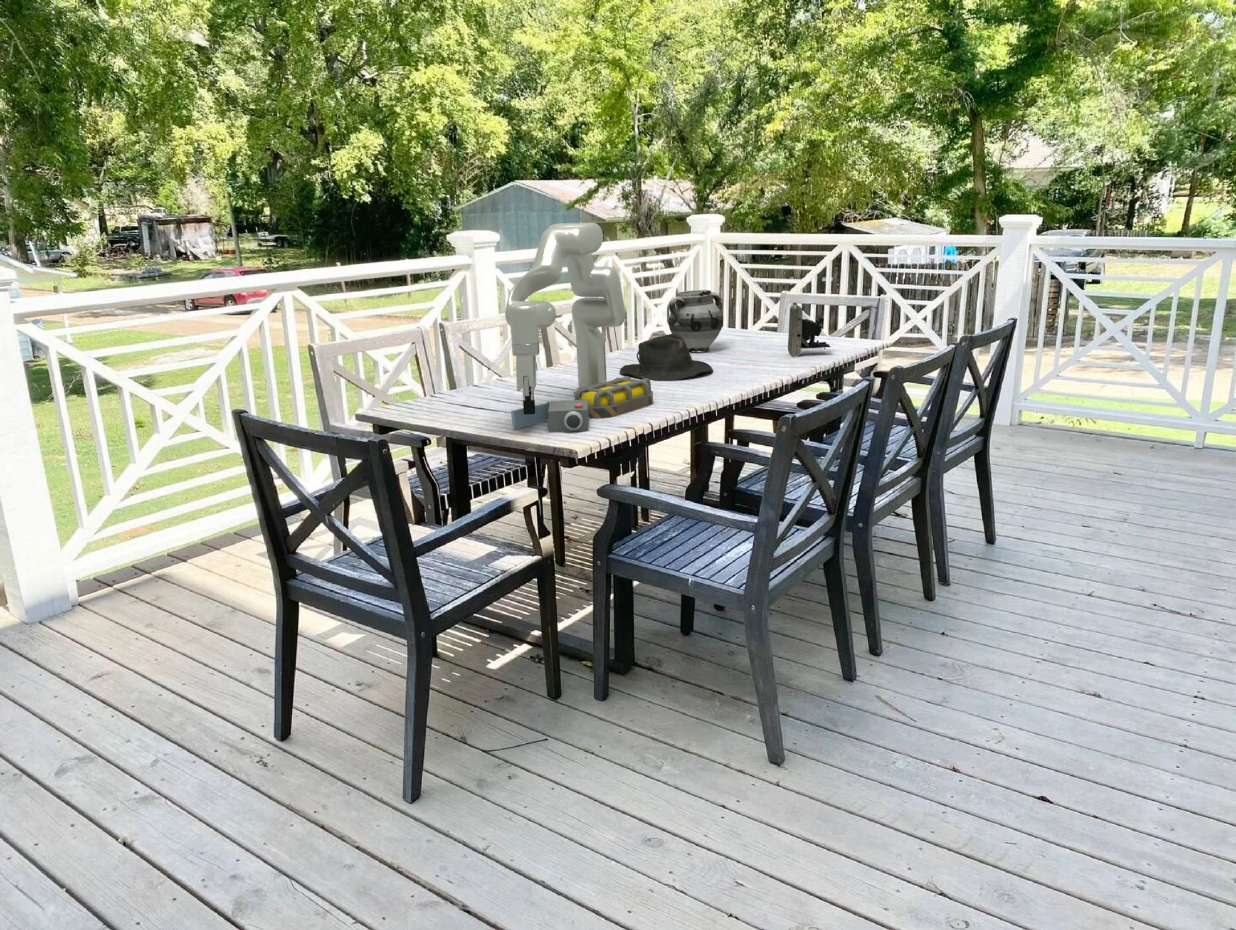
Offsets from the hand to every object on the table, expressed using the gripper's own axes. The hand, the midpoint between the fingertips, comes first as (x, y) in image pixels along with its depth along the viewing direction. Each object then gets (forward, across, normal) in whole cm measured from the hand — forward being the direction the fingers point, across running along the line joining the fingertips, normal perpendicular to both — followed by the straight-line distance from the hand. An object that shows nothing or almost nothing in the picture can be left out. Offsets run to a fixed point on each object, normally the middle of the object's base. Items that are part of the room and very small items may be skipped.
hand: (529, 413), depth 263 cm
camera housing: (+5, -3, +11) cm, 12 cm away
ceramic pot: (+3, -128, +59) cm, 141 cm away
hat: (+4, -82, +44) cm, 93 cm away
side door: (+4, -6, 0) cm, 7 cm away
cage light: (+5, -24, +24) cm, 35 cm away
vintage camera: (+3, -108, +102) cm, 149 cm away
